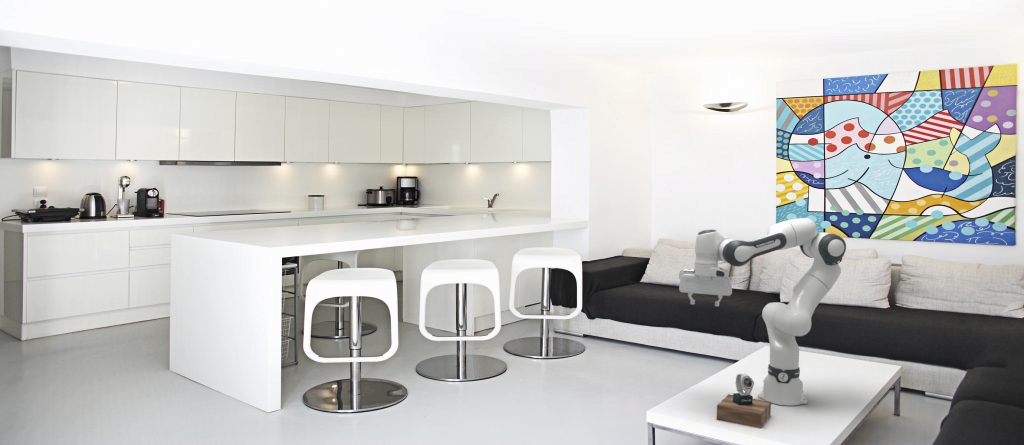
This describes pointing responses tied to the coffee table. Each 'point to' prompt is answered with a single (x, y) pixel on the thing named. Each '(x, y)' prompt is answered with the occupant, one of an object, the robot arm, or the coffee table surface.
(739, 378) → the watch
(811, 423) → the coffee table surface
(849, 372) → the coffee table surface
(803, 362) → the coffee table surface
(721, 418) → the walnut box
